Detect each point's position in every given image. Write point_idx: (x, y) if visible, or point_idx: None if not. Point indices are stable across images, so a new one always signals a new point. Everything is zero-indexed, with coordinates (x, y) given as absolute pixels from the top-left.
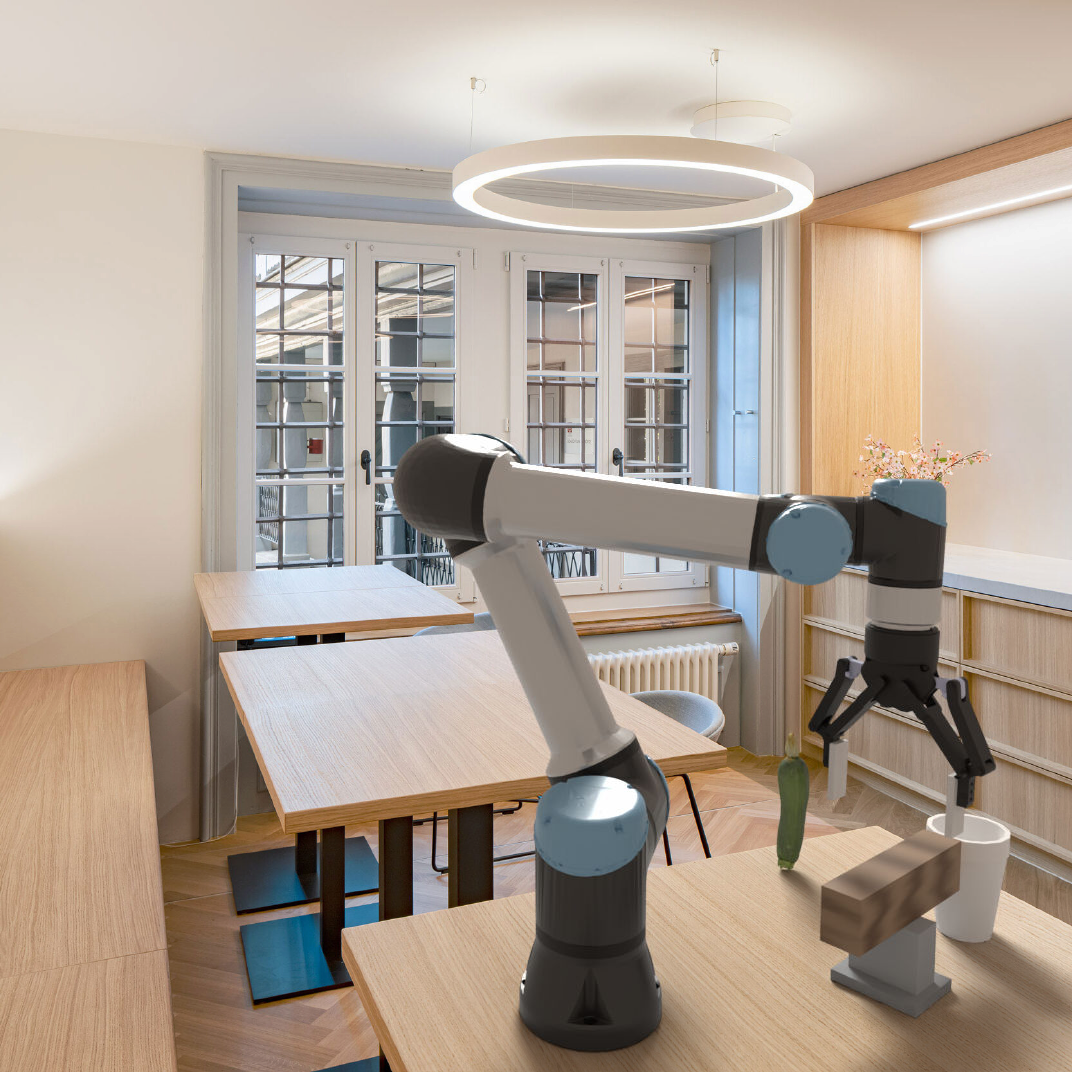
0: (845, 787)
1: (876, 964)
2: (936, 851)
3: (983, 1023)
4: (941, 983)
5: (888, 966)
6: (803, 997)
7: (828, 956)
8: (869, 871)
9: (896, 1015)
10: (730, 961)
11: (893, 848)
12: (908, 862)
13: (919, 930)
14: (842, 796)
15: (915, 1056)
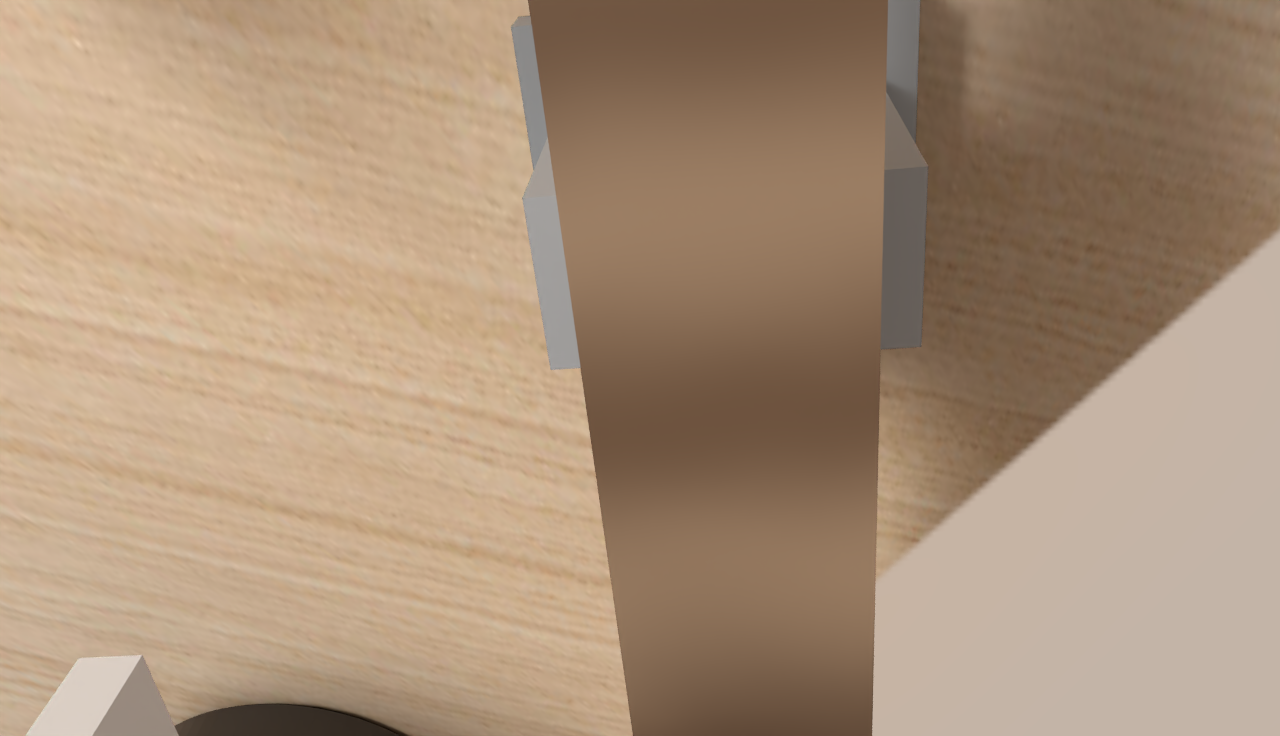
0: (104, 729)
1: None
2: (844, 15)
3: (1104, 105)
4: (905, 62)
5: None
6: (583, 442)
7: (443, 168)
8: (707, 626)
9: None
10: (292, 457)
11: (588, 246)
12: (801, 371)
13: (904, 309)
14: (162, 701)
15: (996, 437)
